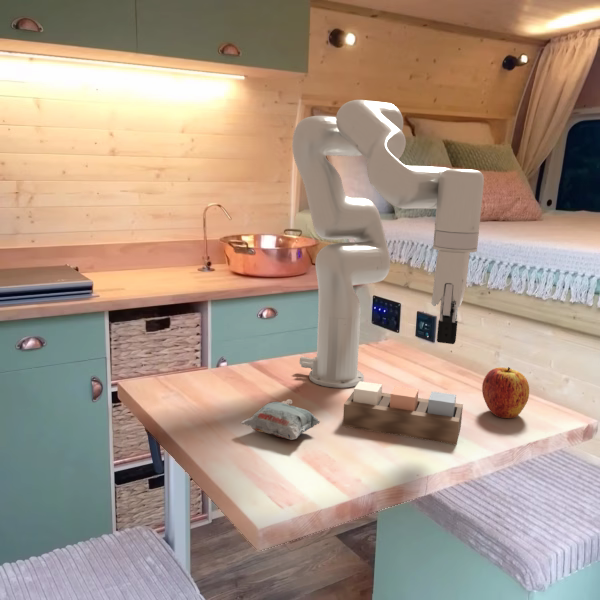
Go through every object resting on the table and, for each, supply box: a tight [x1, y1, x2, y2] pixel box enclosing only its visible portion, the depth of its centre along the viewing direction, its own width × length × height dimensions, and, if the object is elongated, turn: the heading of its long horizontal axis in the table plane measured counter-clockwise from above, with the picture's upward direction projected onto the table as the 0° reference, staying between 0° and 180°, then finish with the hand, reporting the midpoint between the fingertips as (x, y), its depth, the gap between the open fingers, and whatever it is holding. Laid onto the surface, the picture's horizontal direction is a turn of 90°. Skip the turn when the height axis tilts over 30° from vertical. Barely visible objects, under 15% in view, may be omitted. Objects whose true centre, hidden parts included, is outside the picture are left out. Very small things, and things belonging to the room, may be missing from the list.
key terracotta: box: [390, 385, 419, 411], centre depth 116 cm, size 4×4×5 cm
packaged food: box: [240, 401, 321, 441], centre depth 111 cm, size 9×12×5 cm
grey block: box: [428, 391, 457, 417], centre depth 114 cm, size 4×4×5 cm
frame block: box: [342, 390, 464, 446], centre depth 117 cm, size 21×9×4 cm, turn 71°
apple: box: [481, 367, 530, 419], centre depth 123 cm, size 9×9×10 cm
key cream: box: [353, 381, 383, 406], centre depth 118 cm, size 4×4×5 cm
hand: (446, 341), depth 111 cm, fingers closed
